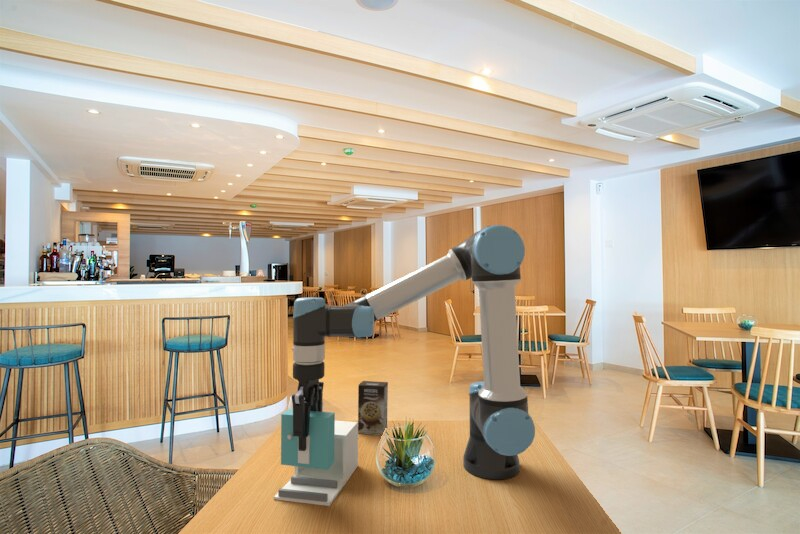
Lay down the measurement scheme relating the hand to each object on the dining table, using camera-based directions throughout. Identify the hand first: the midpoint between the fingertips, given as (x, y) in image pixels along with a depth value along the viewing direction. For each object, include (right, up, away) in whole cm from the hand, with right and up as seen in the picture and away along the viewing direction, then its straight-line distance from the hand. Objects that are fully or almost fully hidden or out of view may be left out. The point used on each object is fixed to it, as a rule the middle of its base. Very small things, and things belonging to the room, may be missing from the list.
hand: (308, 458), depth 104 cm
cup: (-7, -9, +29) cm, 31 cm away
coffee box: (+13, -9, +41) cm, 44 cm away
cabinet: (+1, -9, +6) cm, 11 cm away
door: (0, -1, 0) cm, 1 cm away
